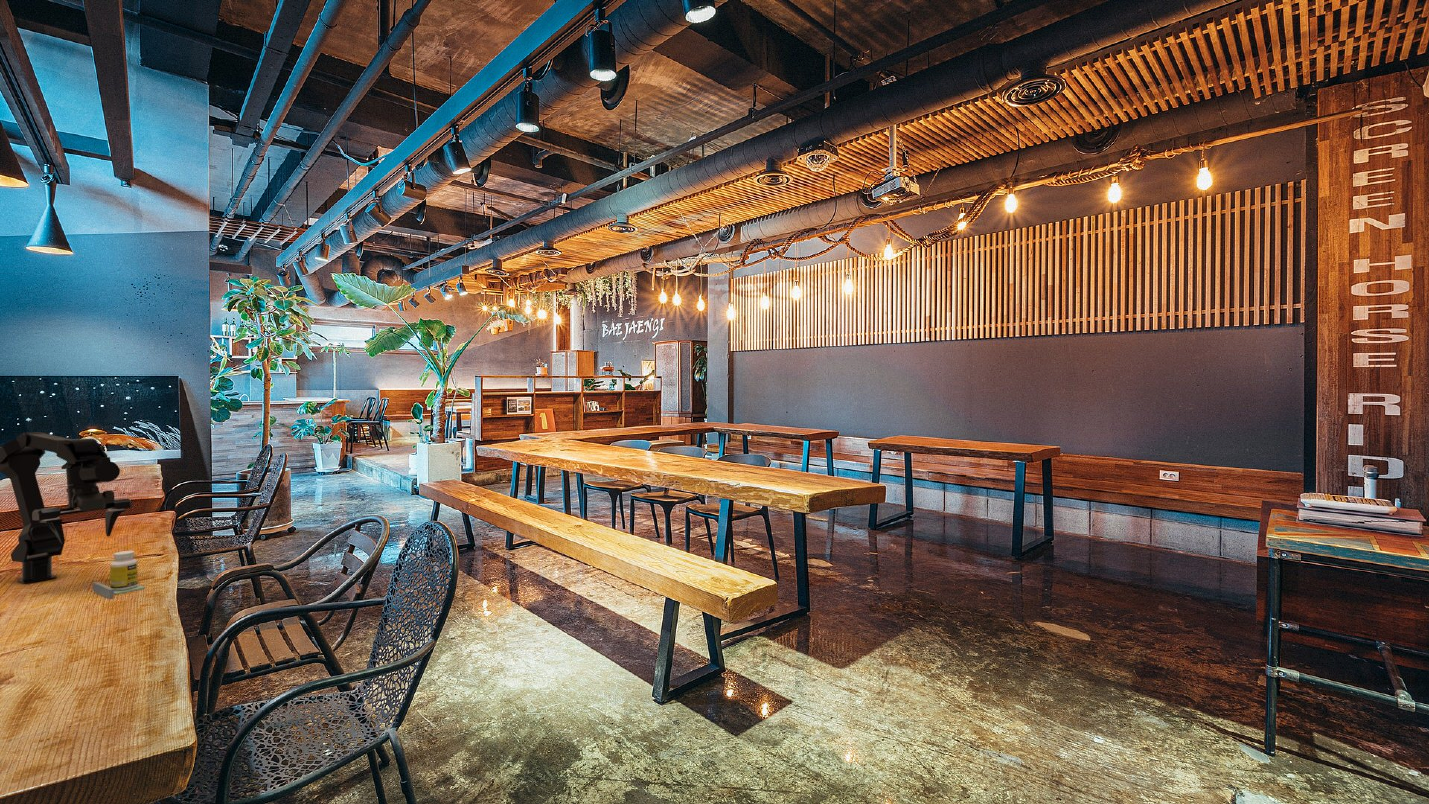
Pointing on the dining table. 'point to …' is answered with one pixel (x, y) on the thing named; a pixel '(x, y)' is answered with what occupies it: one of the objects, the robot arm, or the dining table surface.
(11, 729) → the dining table surface
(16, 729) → the dining table surface
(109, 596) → the acrylic wall
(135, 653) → the dining table surface
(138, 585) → the coaster
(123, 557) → the supplement bottle
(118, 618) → the dining table surface
